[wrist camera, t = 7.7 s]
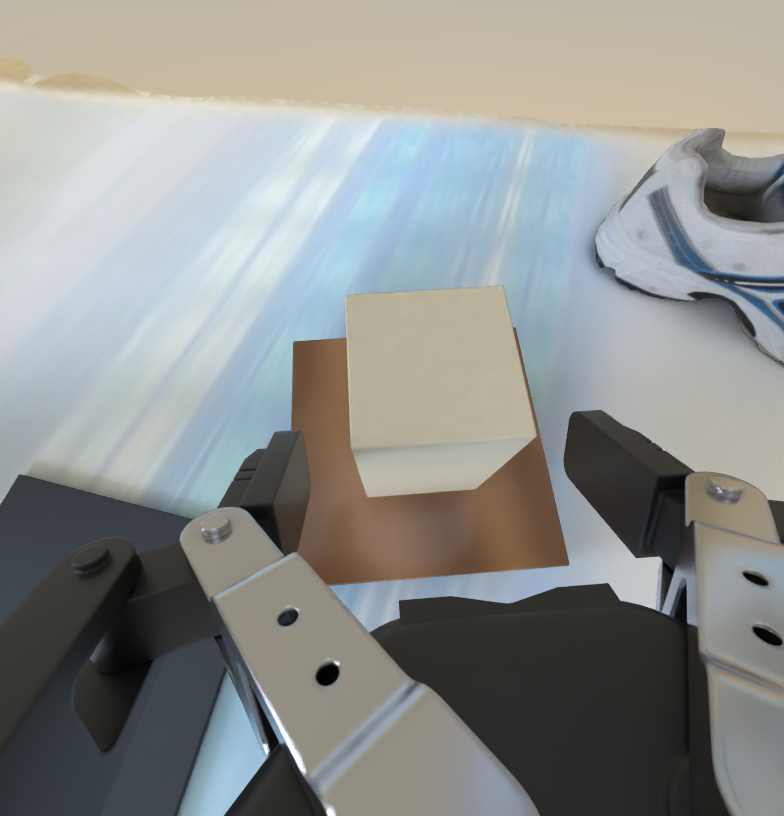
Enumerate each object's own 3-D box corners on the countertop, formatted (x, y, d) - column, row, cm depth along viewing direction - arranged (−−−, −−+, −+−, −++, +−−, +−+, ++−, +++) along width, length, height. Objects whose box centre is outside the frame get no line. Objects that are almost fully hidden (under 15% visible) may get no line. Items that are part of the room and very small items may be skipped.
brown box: (313, 582, 22) (287, 589, 16) (313, 388, 26) (292, 340, 21) (525, 564, 22) (570, 565, 17) (489, 376, 27) (515, 327, 21)
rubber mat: (-143, 753, 19) (-153, 757, 18) (24, 475, 24) (18, 474, 24) (162, 858, 18) (157, 864, 17) (270, 540, 23) (268, 539, 22)
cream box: (367, 497, 18) (350, 450, 10) (361, 396, 19) (344, 293, 12) (476, 489, 18) (538, 436, 10) (460, 389, 20) (503, 284, 12)
